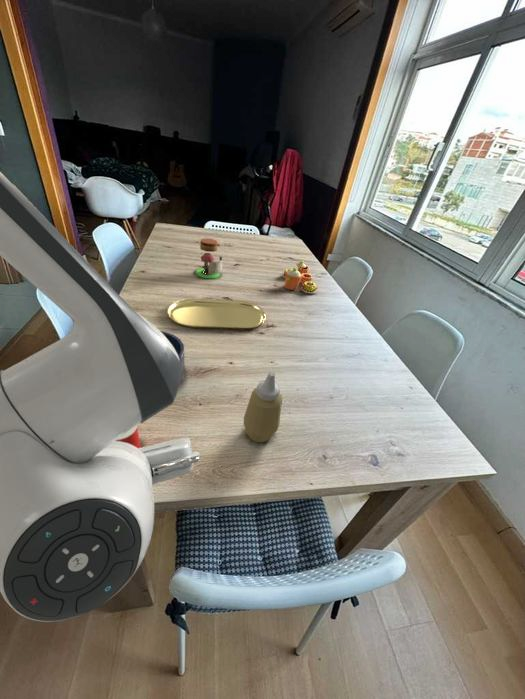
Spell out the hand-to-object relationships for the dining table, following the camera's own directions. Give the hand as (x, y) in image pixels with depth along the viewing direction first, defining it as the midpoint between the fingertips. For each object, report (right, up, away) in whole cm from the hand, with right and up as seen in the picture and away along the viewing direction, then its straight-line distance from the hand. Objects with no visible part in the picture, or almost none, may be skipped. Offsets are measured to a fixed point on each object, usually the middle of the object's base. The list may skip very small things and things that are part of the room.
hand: (118, 459), depth 44 cm
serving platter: (+6, +29, +62) cm, 68 cm away
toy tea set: (+39, +49, +98) cm, 116 cm away
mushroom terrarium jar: (-3, +51, +90) cm, 104 cm away
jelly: (-6, -4, +15) cm, 16 cm away
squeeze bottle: (+21, -3, +23) cm, 32 cm away
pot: (-7, +10, +33) cm, 35 cm away
